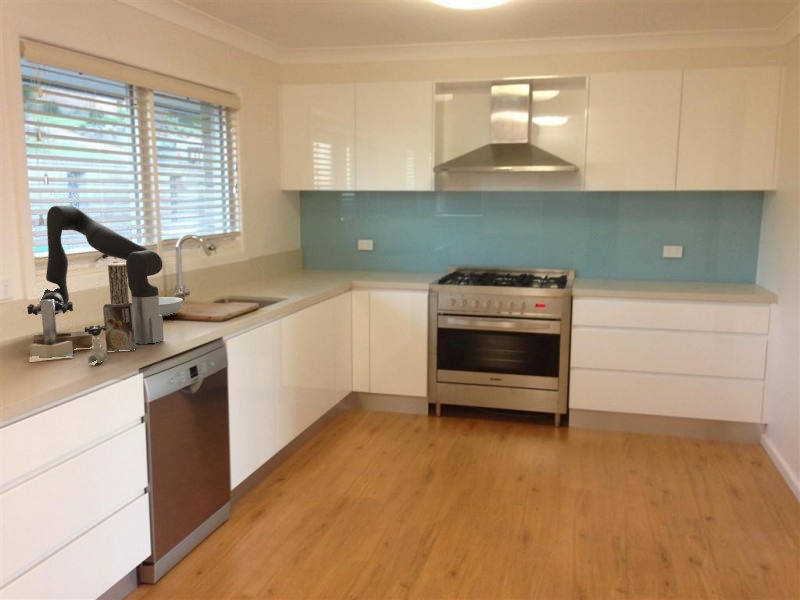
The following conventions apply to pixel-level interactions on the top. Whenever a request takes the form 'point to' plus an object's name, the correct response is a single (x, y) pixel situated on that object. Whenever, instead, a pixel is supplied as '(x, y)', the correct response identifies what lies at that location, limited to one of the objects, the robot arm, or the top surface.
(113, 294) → the wooden log
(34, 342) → the wooden block with hole
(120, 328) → the coffee box
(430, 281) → the top surface
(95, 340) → the valve
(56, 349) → the v block
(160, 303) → the serving bowl
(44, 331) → the axle
